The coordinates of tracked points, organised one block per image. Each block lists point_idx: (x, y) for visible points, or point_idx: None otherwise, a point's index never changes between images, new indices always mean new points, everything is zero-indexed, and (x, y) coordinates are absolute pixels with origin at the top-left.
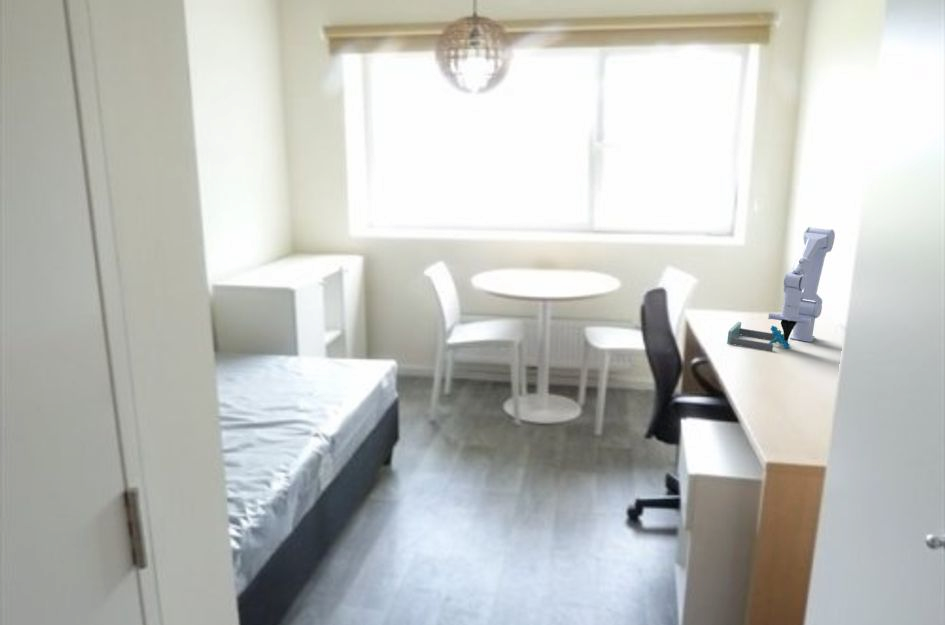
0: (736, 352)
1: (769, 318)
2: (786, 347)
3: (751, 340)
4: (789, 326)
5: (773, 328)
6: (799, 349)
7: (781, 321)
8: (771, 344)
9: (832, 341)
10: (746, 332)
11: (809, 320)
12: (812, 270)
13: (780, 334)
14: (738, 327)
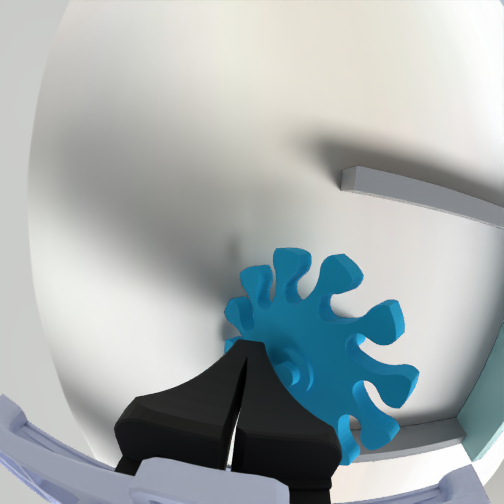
0: (487, 65)
1: (464, 472)
2: (243, 297)
3: (488, 219)
4: (204, 408)
5: (389, 395)
6: (166, 322)
7: (326, 486)
8: (367, 168)
9: (102, 462)
10: (440, 432)
11: None
12: None
13: (300, 388)
14: (498, 409)
